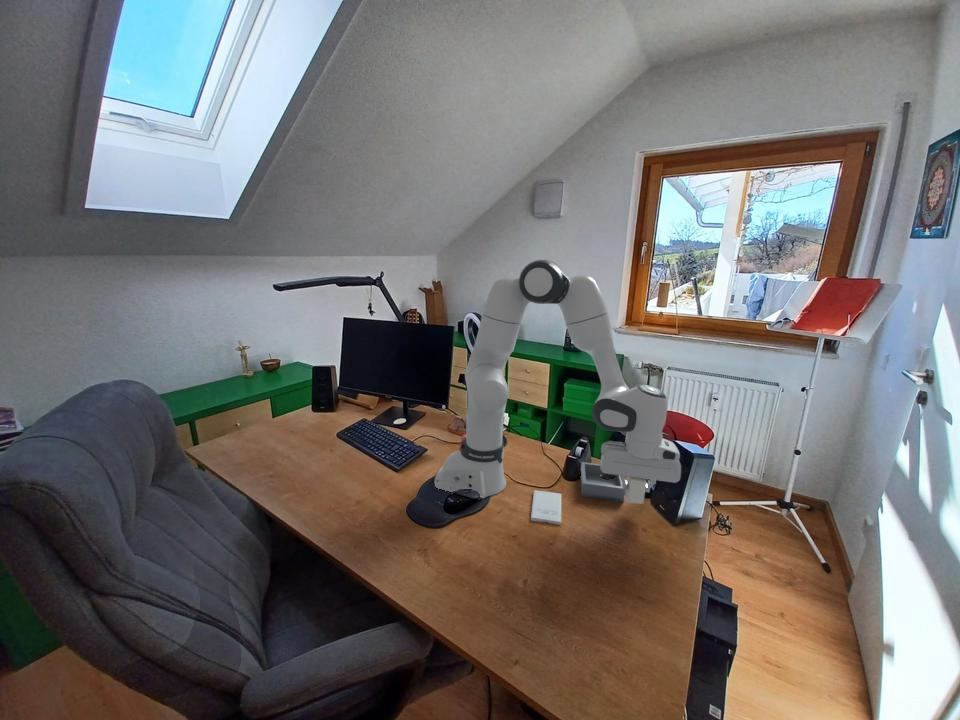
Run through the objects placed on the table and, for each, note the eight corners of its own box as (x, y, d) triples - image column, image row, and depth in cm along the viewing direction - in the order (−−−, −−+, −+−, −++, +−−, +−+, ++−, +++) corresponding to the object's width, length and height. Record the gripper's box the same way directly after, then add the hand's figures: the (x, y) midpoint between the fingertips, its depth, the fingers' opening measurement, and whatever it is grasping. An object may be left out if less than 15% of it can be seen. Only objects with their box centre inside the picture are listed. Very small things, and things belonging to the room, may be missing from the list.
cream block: (627, 501, 106) (630, 479, 104) (625, 493, 110) (628, 471, 108) (643, 504, 105) (646, 482, 103) (640, 495, 109) (644, 473, 107)
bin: (581, 496, 116) (582, 483, 114) (580, 473, 127) (581, 461, 125) (623, 502, 113) (625, 488, 112) (618, 478, 124) (620, 466, 123)
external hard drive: (561, 498, 116) (560, 526, 104) (533, 494, 117) (530, 522, 105) (561, 493, 115) (561, 521, 103) (533, 489, 117) (530, 516, 105)
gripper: (603, 445, 102) (597, 490, 106) (687, 455, 98) (677, 502, 102) (601, 434, 108) (595, 477, 112) (680, 443, 104) (671, 488, 108)
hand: (635, 489), depth 107 cm, fingers closed on cream block, 4 cm apart
